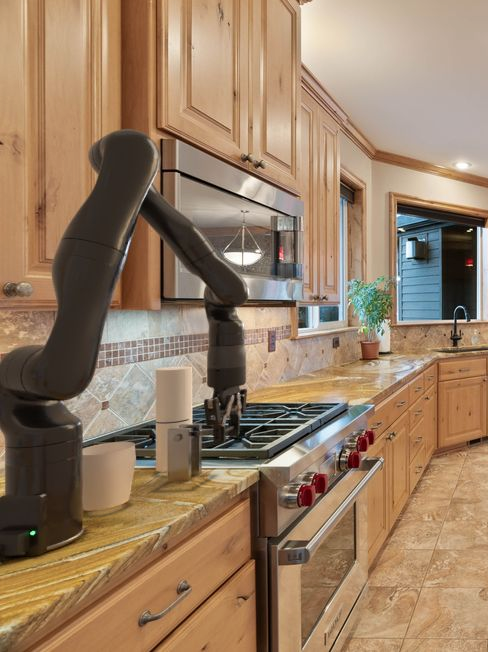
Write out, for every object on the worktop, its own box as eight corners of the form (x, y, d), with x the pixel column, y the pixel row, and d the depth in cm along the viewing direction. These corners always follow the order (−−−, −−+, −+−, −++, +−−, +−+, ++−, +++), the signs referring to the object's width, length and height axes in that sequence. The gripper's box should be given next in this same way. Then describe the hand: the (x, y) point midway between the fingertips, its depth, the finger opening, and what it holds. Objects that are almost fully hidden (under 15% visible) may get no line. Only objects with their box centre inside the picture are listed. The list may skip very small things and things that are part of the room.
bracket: (214, 475, 109) (214, 421, 109) (191, 490, 100) (191, 431, 100) (178, 476, 109) (178, 422, 108) (152, 491, 100) (152, 432, 100)
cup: (91, 502, 94) (91, 443, 94) (144, 497, 97) (144, 440, 96) (63, 522, 85) (63, 457, 85) (122, 515, 88) (122, 452, 88)
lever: (236, 431, 108) (235, 421, 108) (224, 438, 102) (222, 427, 102) (186, 437, 107) (185, 426, 107) (171, 444, 102) (170, 433, 101)
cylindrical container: (148, 475, 109) (148, 369, 109) (177, 465, 116) (177, 365, 116) (170, 478, 107) (170, 370, 107) (199, 468, 114) (199, 367, 114)
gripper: (226, 361, 112) (226, 431, 112) (190, 369, 98) (190, 449, 98) (258, 361, 113) (258, 430, 113) (227, 368, 98) (227, 448, 98)
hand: (226, 438), depth 105 cm, fingers closed on lever, 5 cm apart
